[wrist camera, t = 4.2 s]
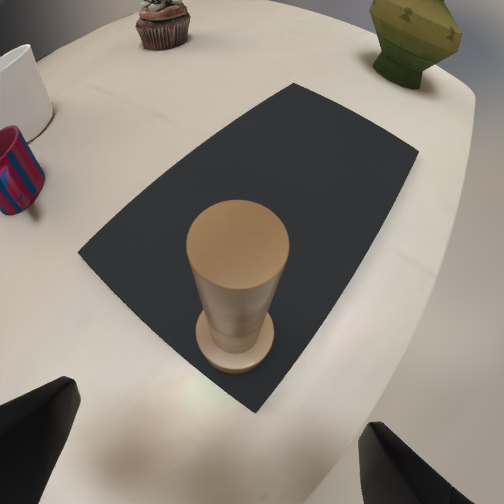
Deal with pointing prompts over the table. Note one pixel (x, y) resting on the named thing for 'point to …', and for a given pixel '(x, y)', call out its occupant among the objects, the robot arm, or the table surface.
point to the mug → (23, 94)
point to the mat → (275, 199)
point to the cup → (17, 172)
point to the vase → (412, 38)
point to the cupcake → (163, 24)
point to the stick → (236, 281)
